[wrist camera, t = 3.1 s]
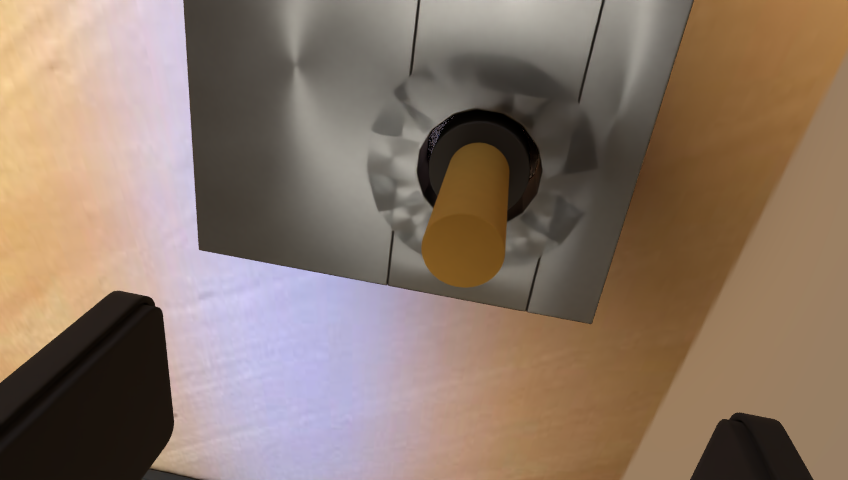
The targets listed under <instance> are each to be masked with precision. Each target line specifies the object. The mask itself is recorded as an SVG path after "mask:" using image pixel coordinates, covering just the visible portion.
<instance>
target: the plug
mask: <svg viewBox="0 0 848 480" xmlns="http://www.w3.org/2000/svg"><path fill="white" fill-rule="evenodd" d="M529 176H530V157H529V145H528V141H527V137H526V135H525V133H524V131H523V129H522V128H521V126H520V125H519V124H518V123H516V122H515V121H513V120H512V119H510V118H508V117H507V116H505V115H504V114H501V113H495V112H489V111H483V110H472V111H468V112H464V113H460V114H458V115H456V116H455V117H453V118H452V119H451V120H450V121H449V122H448V123H447V124H446V126H445V127H444V128H443V130H442V132H441V134H440V136H439V138H438V140H437V142H436V144H435V146H434V149H433V151H432V154H431V156H430V161H429V177H430V182H431V185H432V187H433V189H434V191H435V193H436V195H437V196H438V197H437V200H436V203H435V205H434V208H433V211H432V214H431V217H430V220H429V222H428V225H427V228H426V231H425V234H424V236H423V240H422V246H421V250H422V257H423V260H424V263H425V264H426V266H427V268H428V269H429V271H430V272H431V273H432V274H433V275H434V276H435V277H436V278H437V279H439V280H440V281H442V282H444V283H446V284H449V285H451V286H455V287H463V288H468V287H475V286H479V285H481V284H484V283H486V282H487V281H489V280H490V279H492V278H493V277H494V276H495V275H496V274H497V273H498V272H499V270H500V269H501V267H502V265H503V262H504V258H505V247H506V227H507V210H508V209H509V208H511V207H512V206H513V205H515V204H516V203H517V202H518V200H519V199H520V198H521V197H522V195H523V194H524V192H525V190H526V188H527V185H528V182H529Z"/></svg>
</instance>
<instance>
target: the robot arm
mask: <svg viewBox="0 0 848 480" xmlns="http://www.w3.org/2000/svg"><path fill="white" fill-rule="evenodd" d="M173 427H174V417H173V407H172V398H171V388H170V378H169V369H168V359H167V350H166V340H165V330H164V321H163V313H162V310H161V309H160V308H158V307H155V303H154V301H153V299H152V298H150V297H148V296H143V295H138V294H133V293H128V292H123V291H113V292H112V293H110V294H108V295H107V296H106V297H105V298H104V299H102V300H101V301H100V302H99V303H97V304H96V305H95V306H94V307H93V308H91V309H90V310H89V311H88V312H86V313H85V314H84V315H83V316H82V317H80V318H79V319H78V320H77V321H75V322H74V323H73V324H72V325H71V326H69V327H68V328H67V329H66V330H64V331H63V332H62V333H61V334H60V335H58V336H57V337H56V338H55V339H53V340H52V341H51V342H50V343H49V344H47V345H46V346H45V347H44V348H42V349H41V350H40V351H39V352H38V353H36V354H35V355H34V356H33V357H31V358H30V359H29V360H28V361H27V362H25V363H24V364H23V365H22V366H20V367H19V368H18V369H17V370H16V371H14V372H13V373H12V374H11V375H9V376H8V377H7V378H6V379H5V380H3V381H2V382H1V383H0V480H141V479H142V478H143V476H144V475H145V474H146V472H147V471H148V470H149V468H150V467H151V465H152V464H153V463H154V461H155V460H156V458H157V457H158V456H159V454H160V453H161V452H162V450H163V449H164V447H165V446H166V445H167V443H168V441H169V439H170V437H171V435H172V432H173ZM690 480H813V478H812V477H811V475H810V473H809V471H808V469H807V468H806V466H805V464H804V462H803V461H802V459H801V457H800V455H799V454H798V452H797V450H796V448H795V446H794V445H793V443H792V441H791V439H790V438H789V436H788V434H787V432H786V431H785V429H784V427H783V426H782V425H781V423H780V422H779V421H777V420H775V419H770V418H765V417H760V416H755V415H749V414H744V413H735V414H733V415H732V416H731V418H730V419H729V420H727V419H722V420H721V421H720V422H719V423H718V425H717V426H716V429H715V431H714V432H713V434H712V437H711V439H710V441H709V443H708V445H707V447H706V449H705V451H704V453H703V455H702V457H701V459H700V461H699V463H698V465H697V467H696V469H695V471H694V473H693V475H692V477H691V479H690Z"/></svg>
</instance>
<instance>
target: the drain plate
mask: <svg viewBox="0 0 848 480" xmlns="http://www.w3.org/2000/svg"><path fill="white" fill-rule="evenodd" d="M183 1H184V17H185V33H186V50H187V66H188V82H189V98H190V114H191V130H192V146H193V162H194V178H195V194H196V210H197V227H198V243H199V250H202V251H207V252H213V253H218V254H223V255H228V256H234V257H239V258H244V259H250V260H255V261H260V262H265V263H271V264H276V265H281V266H287V267H292V268H297V269H302V270H308V271H313V272H318V273H324V274H329V275H334V276H339V277H345V278H350V279H355V280H360V281H366V282H371V283H376V284H382V285H387V284H388V286H393V287H398V288H403V289H408V290H414V291H419V292H424V293H430V294H435V295H440V296H445V297H451V298H456V299H461V300H467V301H472V302H477V303H482V304H488V305H493V306H498V307H504V308H509V309H514V310H519V311H527V312H530V313H535V314H540V315H545V316H551V317H556V318H561V319H567V320H572V321H577V322H582V323H588V324H592V322H593V319H594V316H595V312H596V309H597V306H598V303H599V300H600V297H601V293H602V290H603V287H604V284H605V281H606V278H607V274H608V271H609V268H610V265H611V262H612V259H613V255H614V252H615V249H616V246H617V243H618V239H619V236H620V233H621V230H622V227H623V224H624V220H625V217H626V214H627V211H628V208H629V205H630V201H631V198H632V195H633V192H634V189H635V186H636V182H637V179H638V176H639V173H640V170H641V167H642V163H643V160H644V157H645V154H646V151H647V148H648V144H649V141H650V138H651V135H652V132H653V129H654V125H655V122H656V119H657V116H658V113H659V110H660V106H661V103H662V100H663V97H664V94H665V90H666V87H667V84H668V81H669V78H670V75H671V71H672V68H673V65H674V62H675V59H676V56H677V52H678V49H679V46H680V43H681V40H682V37H683V33H684V30H685V27H686V24H687V21H688V18H689V14H690V11H691V8H692V5H693V2H694V0H183ZM472 110H483V111H489V112H495V113H501V114H504V115H505V116H507V117H508V118H510V119H512V120H513V121H515V122H516V123H518V124H520V125H521V126H523V127H524V129H525V130H526V132H527V133H528V134H529V136H530V137H531V139H532V140H533V142H534V143H535V144H536V146H537V148H538V153H539V158H538V163H537V167H536V172H535V174H534V176H533V177H532V178H531V180H530V181H529V182H528V185H527V188H526V190H525V192H524V194H523V195H522V197H521V198H520V199H519V200H518V202H517V203H516V204H515V205H513V206H512V207H511V208H509V209H508V210H507V227H506V247H505V258H504V262H503V265H502V267H501V269H500V270H499V272H498V273H497V274H496V275H495V276H494V277H493V278H492V279H490V280H489V281H487V282H486V283H484V284H481V285H479V286H475V287H468V288H463V287H455V286H451V285H449V284H446V283H444V282H442V281H440V280H439V279H437V278H436V277H435V276H434V275H433V274H432V273H431V272H430V271H429V269H428V268H427V266H426V264H425V263H424V260H423V257H422V250H421V246H422V240H423V236H424V234H425V231H426V228H427V225H428V222H429V220H430V217H431V214H432V211H433V208H434V205H435V203H436V200H437V197H438V196H437V195H436V193H435V191H434V189H433V187H432V185H431V182H430V177H429V163H428V159H427V155H426V154H427V147H428V139H429V135H430V133H431V132H432V130H433V129H434V128H436V127H437V126H439V125H440V124H441V123H443V122H444V121H445V120H447V119H448V118H450V117H451V116H452V115H455V114H460V113H464V112H468V111H472Z"/></svg>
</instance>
